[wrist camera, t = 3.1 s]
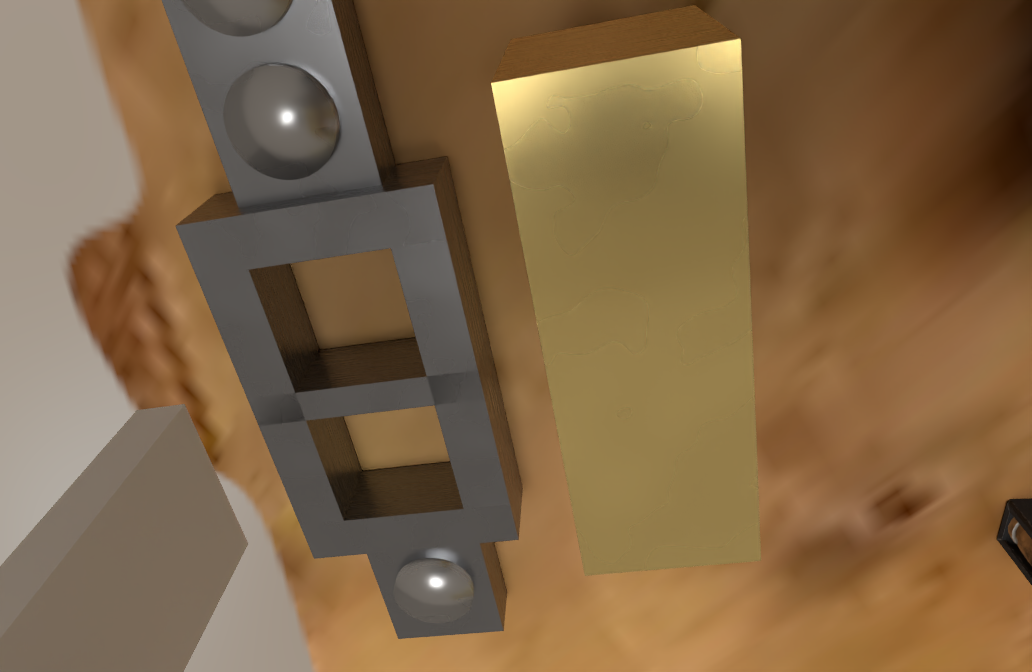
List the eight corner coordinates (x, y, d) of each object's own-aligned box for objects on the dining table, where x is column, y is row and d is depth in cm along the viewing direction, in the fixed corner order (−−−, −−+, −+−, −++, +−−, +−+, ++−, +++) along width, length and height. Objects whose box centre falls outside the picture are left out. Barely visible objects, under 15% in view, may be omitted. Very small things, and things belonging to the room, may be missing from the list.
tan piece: (527, 1, 19) (490, 82, 10) (655, -23, 19) (740, 39, 10) (578, 315, 23) (585, 575, 14) (683, 301, 23) (761, 560, 14)
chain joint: (110, -74, 19) (51, -72, 17) (381, -135, 18) (355, -141, 16) (370, 603, 30) (355, 657, 28) (545, 589, 29) (543, 643, 27)
